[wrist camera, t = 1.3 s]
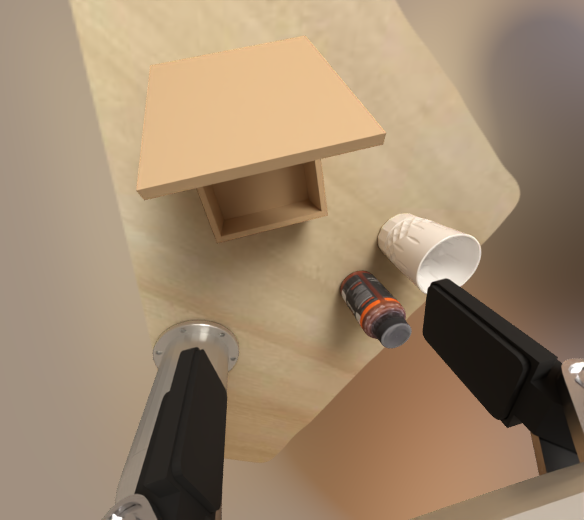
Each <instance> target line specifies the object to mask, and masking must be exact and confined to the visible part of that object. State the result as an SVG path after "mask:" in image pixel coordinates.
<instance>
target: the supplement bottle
mask: <svg viewBox="0 0 584 520" xmlns="http://www.w3.org/2000/svg"><path fill="white" fill-rule="evenodd" d="M340 291H341V295H342V297H343V299H344V301H345V302H346V304H347V306H348V307H349V309H350V310H351V312H352V313H353V315H354V316H355V318H356V320H357V321H358V323H359V324H360V326H361V327H362V329H363V330H364V332H365V333H366V334H367V335H368V336H370V337H372V338H375V339H378V340H379V341H380V342H381V344H382V345H383V346H384V347H386V348H395V347H398V346H400V345H402V344H404V343H405V342H406V341H407V340H408V339H409V337H410V335H411V327H410V326H409V325H408V324H407V322H406V320H405V318H406V313H405V310H404V308H403V307H402V305H401V304H400V303H399V302H398V301H397V300H396V299H395V298H394V297H393V296H392V295H391V294H390V293H389V291H388V290H387V289H386V288H385V287H384V286H383V285H382V284H381V283H380V282H379V281H378V280H377V279H376V278H375V277H374V276H373V275H372V274H371V273H369V272H367V271H357V272H354V273H352V274H350V275H349V276H347V277H346V278H345V279H344V281H343V282H342V285H341V289H340Z"/></svg>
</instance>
